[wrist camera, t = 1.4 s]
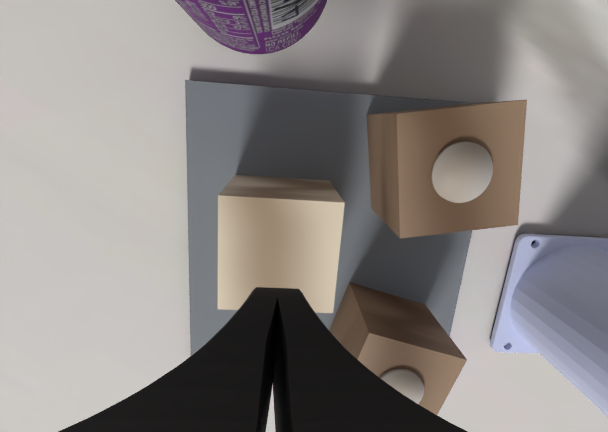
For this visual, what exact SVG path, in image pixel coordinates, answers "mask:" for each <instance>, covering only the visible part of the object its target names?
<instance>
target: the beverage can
mask: <svg viewBox="0 0 608 432" xmlns="http://www.w3.org/2000/svg"><path fill="white" fill-rule="evenodd" d="M175 1H176V2H177V3H178V4H179V5H180V6H181V7H182V8H183V9H184V10H185V11H186V12H187V14H188V15H189V16H190V17H191V18H192V19H193V20H194V21H195V22H196V23H197V24H198V25H199V26H200V27H201V29H202V30H203V31H204V32H205V33H207V34H208V35H209V36H210V37H211V38H213V39H214V40H215V41H217V42H219V43H220V44H222V45H224V46H226V47H228V48H230V49H233V50H236V51H239V52H243V53H249V54H267V53H273V52H276V51H280V50H282V49H285V48H287V47H289V46H291V45H293V44H294V43H296V42H297V41H299V40H300V39H301V38H302V37H304V36H305V35H306V34H307V33H308V32H309V31H310V30H311V28H312V27H313V26H314V25H315V23H316V22H317V20H318V19H319V17H320V15H321V13H322V12H323V9H324V7H325V5H326V2H327V0H175Z"/></svg>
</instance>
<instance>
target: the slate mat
mask: <svg viewBox="0 0 608 432" xmlns="http://www.w3.org/2000/svg"><path fill="white" fill-rule="evenodd" d="M185 90H186V139H187V189H188V239H189V288H190V338H191V356H192V355H193V354H194V353H196V352H197V351H198V350H199V349H200V348H201V347H202V346H204V345H205V344H206V343H207V342H208V341H209V340H210V339H211V338H212V337H213V336H214V335H215V334H216V333H217V332H218V331H219V330H220V329H221V328H222V327H223V326H224V325H225V324H226V323H227V322H228V321H229V320H230V319H231V318H232V316H233V315H234V314H235V313H236V312H237V311H238V310H224V309H218V195H219V194H220V192H221V191H222V190H223V189H224V188H225V187H226V185H227V184H228V183H229V182H230V181H231V179H232V178H233V177H234V176H235V175H246V176H263V177H279V178H295V179H311V180H328V181H330V182H331V184H332V185H333V187H334V188H335V189H336V191H337V192H338V194H339V195H340V197H341V198H342V199H343V201H344V202H345V206H344V215H343V224H342V234H341V243H340V253H339V262H338V271H337V281H336V290H335V300H334V309H333V313H316V314H317V316H318V317H319V318H320V320H321V321H322V322H323V324H324V325H325V326H326V327H327V329H328V330H330V328H331V325H332V323H333V320H334V318H335V315H336V313H337V311H338V308H339V306H340V303H341V301H342V298H343V296H344V294H345V291H346V289H347V286H348V284H349V282H351V283H354V284H357V285H361V286H364V287H368V288H371V289H374V290H378V291H381V292H384V293H388V294H391V295H395V296H398V297H401V298H405V299H408V300H411V301H415V302H418V303H422V304H425V305H426V306H427V307H428V309H429V310H430V311H431V313H432V314H433V315H434V317H435V318H436V319H437V321H438V322H439V323H440V325H441V326H442V327H443V329H444V330H445V331H446V333H447V334H448V335H449V336H450V332H451V327H452V322H453V318H454V313H455V308H456V304H457V299H458V294H459V289H460V285H461V280H462V275H463V271H464V266H465V261H466V257H467V252H468V247H469V243H470V238H471V233H472V230H469V231H460V232H452V233H443V234H435V235H426V236H418V237H409V238H401V239H400V238H399V237H398V236H397V235H396V234H395V233H394V232H393V231H392V230H391V229H390V227H389V226H388V225H387V224H386V223H385V222H384V221H383V220H382V219H381V218H380V217H379V216H378V215H377V214H376V213H375V212H374V211H373V210H372V209H371V195H370V176H369V156H368V136H367V117H366V115H368V114H378V113H387V112H396V111H405V110H415V109H424V108H433V107H442V106H452V105H461V104H474V103H465V102H452V101H440V100H428V99H415V98H403V97H390V96H378V95H365V94H353V93H340V92H328V91H315V90H303V89H290V88H278V87H265V86H253V85H240V84H228V83H215V82H203V81H190V80H185Z"/></svg>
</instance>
